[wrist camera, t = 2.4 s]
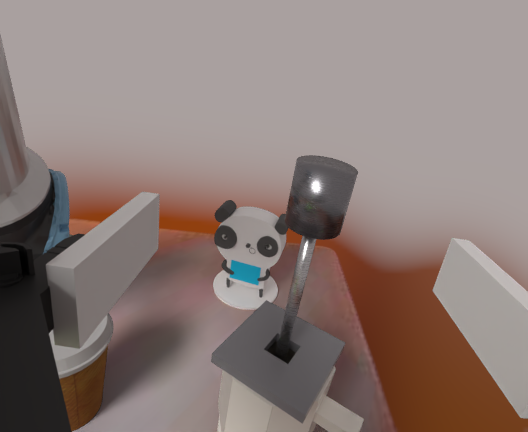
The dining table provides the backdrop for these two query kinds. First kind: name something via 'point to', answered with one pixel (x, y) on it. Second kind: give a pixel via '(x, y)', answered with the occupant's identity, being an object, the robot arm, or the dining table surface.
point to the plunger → (313, 221)
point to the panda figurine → (248, 254)
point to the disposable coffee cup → (83, 373)
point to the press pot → (279, 378)
